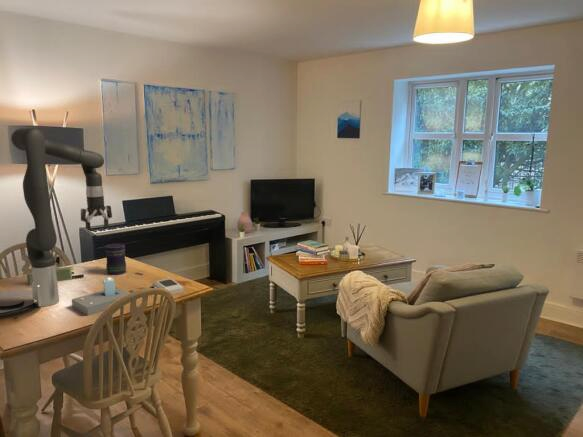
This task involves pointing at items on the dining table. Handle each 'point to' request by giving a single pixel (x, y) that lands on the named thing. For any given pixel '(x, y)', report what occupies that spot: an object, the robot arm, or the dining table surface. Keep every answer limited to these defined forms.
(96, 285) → the dining table surface
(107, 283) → the pale blue tall block
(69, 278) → the handheld radio
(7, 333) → the dining table surface
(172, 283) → the keypad
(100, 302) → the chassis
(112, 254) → the storage jar
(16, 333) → the dining table surface
